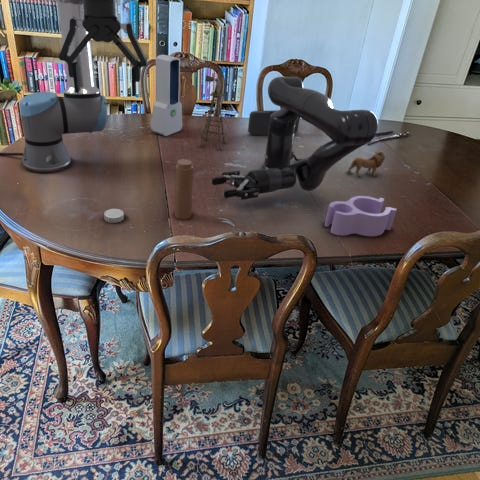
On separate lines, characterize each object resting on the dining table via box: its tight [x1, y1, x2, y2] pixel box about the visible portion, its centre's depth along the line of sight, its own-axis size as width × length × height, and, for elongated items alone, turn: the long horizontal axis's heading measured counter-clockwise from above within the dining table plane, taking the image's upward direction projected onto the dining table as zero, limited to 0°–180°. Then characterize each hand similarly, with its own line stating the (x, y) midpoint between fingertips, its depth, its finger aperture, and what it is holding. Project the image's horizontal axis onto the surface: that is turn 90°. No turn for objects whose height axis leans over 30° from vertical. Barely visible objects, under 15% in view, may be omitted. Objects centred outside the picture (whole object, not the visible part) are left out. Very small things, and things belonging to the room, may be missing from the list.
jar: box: [174, 158, 194, 220], centre depth 134 cm, size 5×5×17 cm
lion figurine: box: [346, 150, 386, 178], centre depth 174 cm, size 15×5×9 cm, turn 110°
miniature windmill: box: [199, 67, 226, 150], centre depth 180 cm, size 9×8×30 cm
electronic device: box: [149, 54, 183, 137], centre depth 188 cm, size 12×8×30 cm, turn 148°
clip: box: [324, 195, 398, 237], centre depth 141 cm, size 20×12×7 cm, turn 109°
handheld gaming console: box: [247, 109, 301, 136], centre depth 202 cm, size 23×3×10 cm, turn 108°
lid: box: [103, 208, 125, 224], centre depth 134 cm, size 6×6×2 cm
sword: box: [367, 133, 409, 145], centre depth 213 cm, size 31×3×1 cm, turn 126°
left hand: (106, 93), depth 115 cm, fingers open, 13 cm apart
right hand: (218, 187), depth 140 cm, fingers open, 8 cm apart
